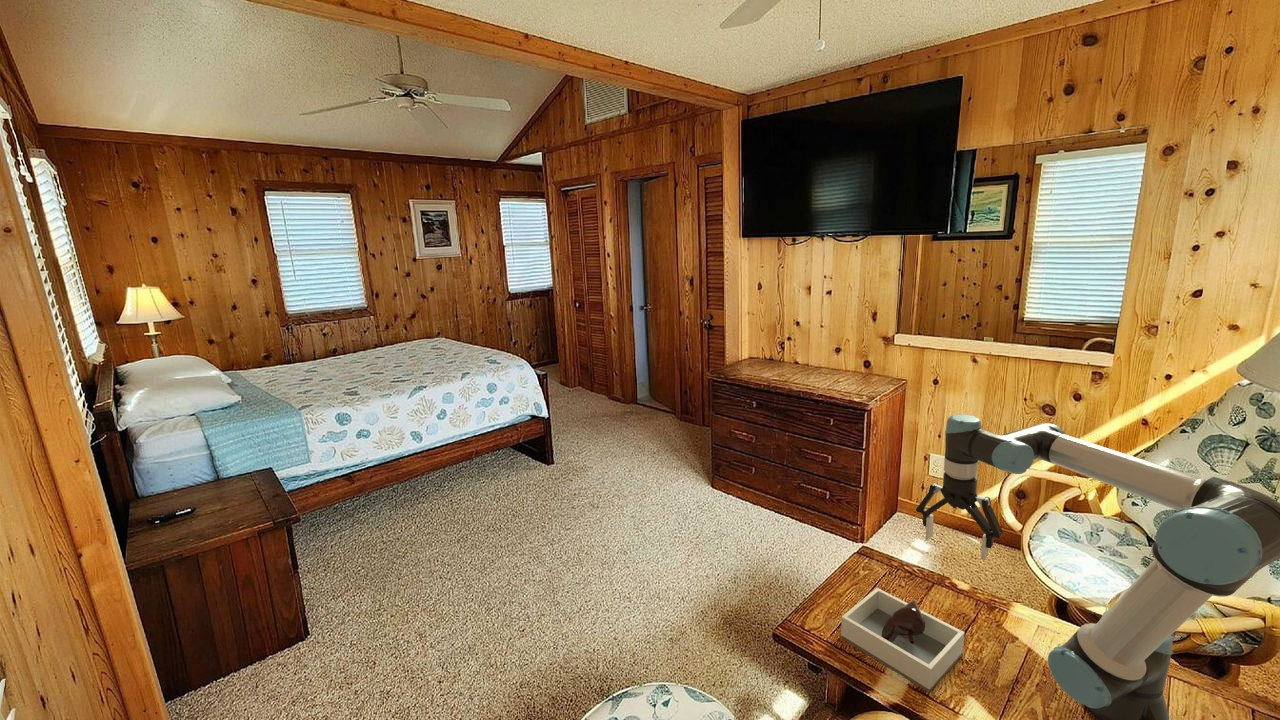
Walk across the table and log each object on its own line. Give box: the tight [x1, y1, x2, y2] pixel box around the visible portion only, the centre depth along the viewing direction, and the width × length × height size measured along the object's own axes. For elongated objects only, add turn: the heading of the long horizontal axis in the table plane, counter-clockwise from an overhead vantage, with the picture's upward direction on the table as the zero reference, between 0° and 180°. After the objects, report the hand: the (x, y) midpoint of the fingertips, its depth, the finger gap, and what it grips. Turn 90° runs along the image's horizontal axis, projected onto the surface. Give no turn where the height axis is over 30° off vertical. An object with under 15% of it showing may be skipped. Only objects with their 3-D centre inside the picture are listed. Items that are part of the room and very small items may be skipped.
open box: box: [840, 587, 966, 694], centre depth 145 cm, size 24×18×7 cm
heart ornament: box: [882, 600, 925, 644], centre depth 146 cm, size 6×12×11 cm
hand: (955, 547), depth 144 cm, fingers open, 13 cm apart
